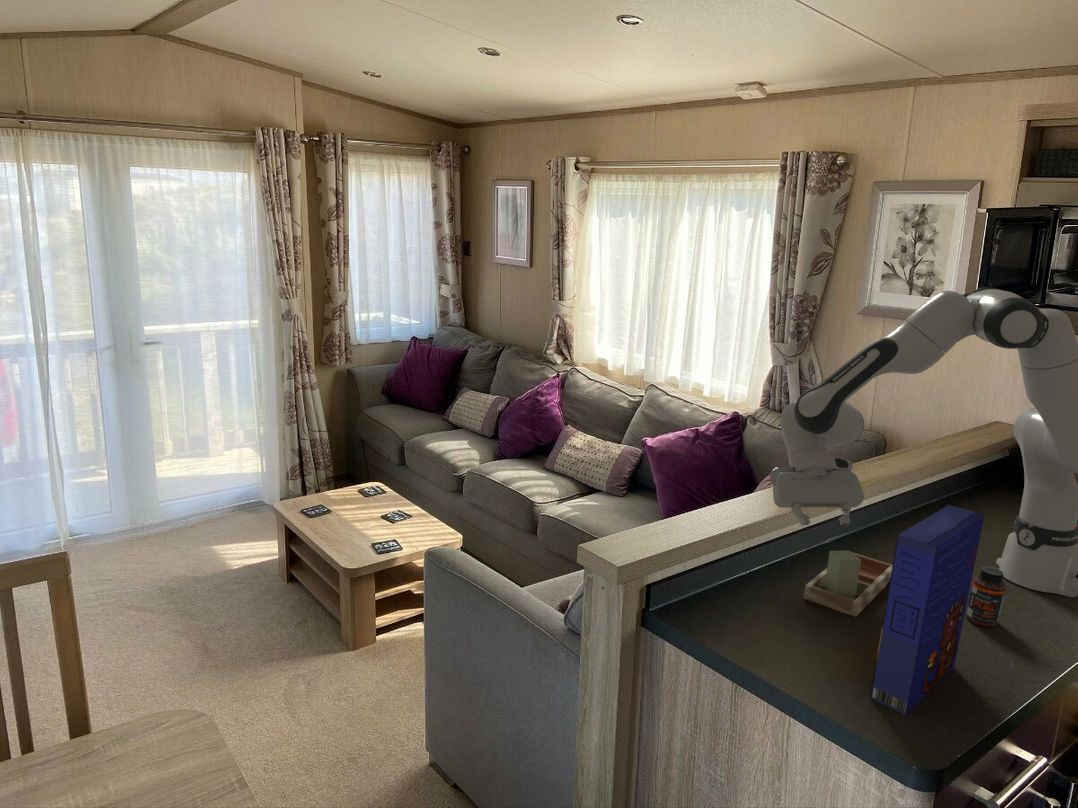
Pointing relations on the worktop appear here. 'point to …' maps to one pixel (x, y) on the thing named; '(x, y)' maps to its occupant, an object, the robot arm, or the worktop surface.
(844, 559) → the sage peg
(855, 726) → the worktop surface
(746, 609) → the worktop surface
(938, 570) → the cereal box
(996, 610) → the supplement bottle
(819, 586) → the two-socket holder
